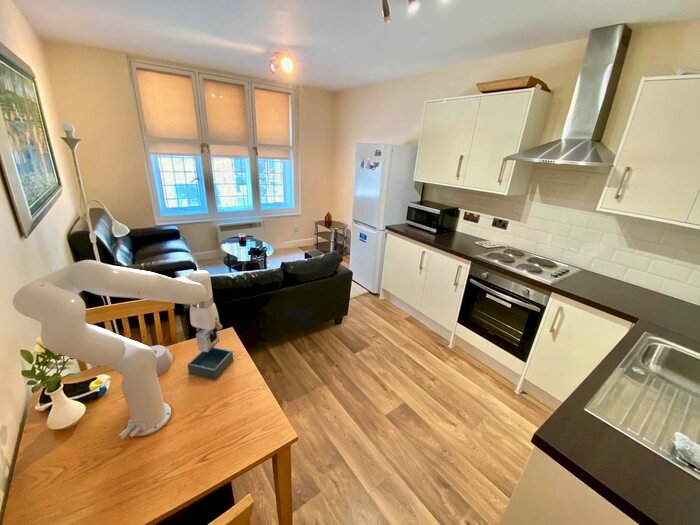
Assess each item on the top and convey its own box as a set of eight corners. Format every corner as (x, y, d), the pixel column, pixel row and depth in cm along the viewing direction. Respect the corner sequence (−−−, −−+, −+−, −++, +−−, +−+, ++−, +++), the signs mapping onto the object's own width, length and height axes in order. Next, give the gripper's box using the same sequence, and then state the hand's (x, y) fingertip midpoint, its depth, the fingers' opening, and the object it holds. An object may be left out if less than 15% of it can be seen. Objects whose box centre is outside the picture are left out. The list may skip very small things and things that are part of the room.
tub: (215, 380, 118) (214, 370, 116) (189, 374, 120) (187, 364, 118) (233, 359, 130) (232, 350, 128) (208, 354, 132) (207, 345, 130)
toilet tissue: (177, 355, 130) (174, 339, 127) (161, 377, 118) (157, 360, 115) (156, 354, 129) (152, 339, 126) (138, 376, 117) (133, 360, 114)
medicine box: (207, 353, 117) (205, 335, 114) (198, 350, 118) (195, 333, 114) (219, 341, 124) (217, 324, 121) (210, 339, 125) (208, 322, 121)
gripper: (176, 302, 110) (183, 340, 117) (215, 309, 108) (220, 348, 115) (190, 293, 117) (196, 330, 124) (227, 300, 114) (231, 337, 122)
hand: (208, 338), depth 119 cm, fingers closed on medicine box, 4 cm apart
